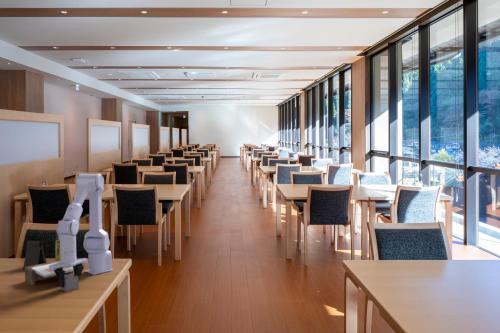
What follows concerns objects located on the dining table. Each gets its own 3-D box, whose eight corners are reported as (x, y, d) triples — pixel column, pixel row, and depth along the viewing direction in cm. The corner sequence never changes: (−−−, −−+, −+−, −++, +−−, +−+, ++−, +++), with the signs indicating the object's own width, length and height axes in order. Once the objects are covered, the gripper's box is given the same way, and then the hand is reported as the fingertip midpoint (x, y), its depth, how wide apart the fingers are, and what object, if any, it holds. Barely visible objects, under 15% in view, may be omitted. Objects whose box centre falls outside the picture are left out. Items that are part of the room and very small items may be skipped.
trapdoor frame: (65, 272, 201) (65, 259, 200) (73, 276, 196) (72, 262, 195) (25, 281, 189) (24, 267, 188) (32, 285, 184) (31, 270, 183)
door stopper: (35, 270, 206) (34, 243, 205) (23, 269, 206) (22, 243, 206) (46, 264, 215) (45, 239, 214) (34, 264, 215) (33, 239, 215)
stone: (72, 285, 183) (72, 273, 182) (78, 288, 179) (78, 276, 179) (60, 288, 179) (60, 276, 179) (66, 291, 176) (65, 279, 175)
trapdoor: (30, 270, 188) (30, 267, 188) (64, 263, 198) (64, 260, 198) (44, 277, 178) (44, 274, 178) (79, 269, 188) (79, 267, 188)
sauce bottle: (56, 265, 213) (54, 222, 212) (54, 262, 219) (53, 220, 218) (71, 263, 216) (69, 221, 215) (69, 260, 222) (68, 219, 221)
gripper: (54, 256, 170) (55, 292, 171) (90, 249, 181) (91, 283, 181) (46, 253, 175) (47, 287, 176) (82, 246, 186) (83, 279, 186)
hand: (69, 285), depth 179 cm, fingers closed on stone, 5 cm apart
